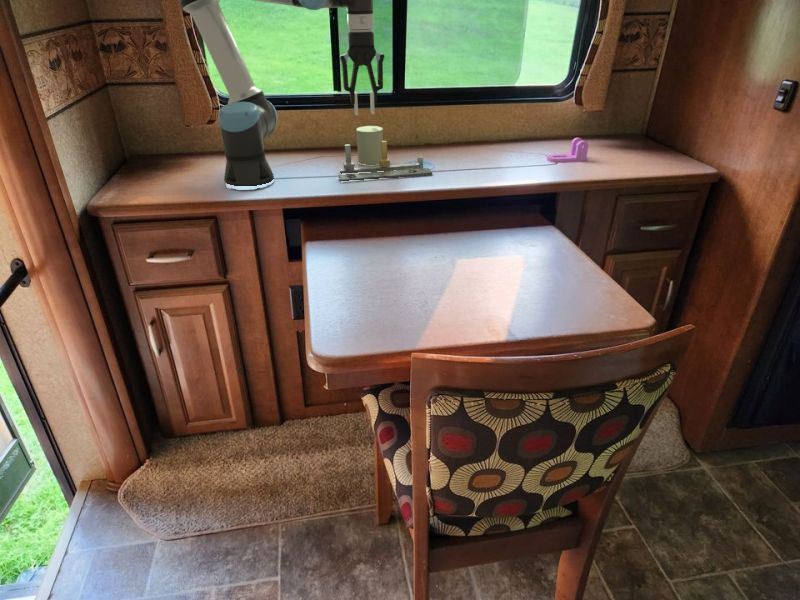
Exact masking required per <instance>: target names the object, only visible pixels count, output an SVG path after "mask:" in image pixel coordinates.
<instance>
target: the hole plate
mask: <svg viewBox="0 0 800 600" xmlns="http://www.w3.org/2000/svg"><path fill="white" fill-rule="evenodd" d="M415 176H416V177H427V176H433V171H432V170H431V169H430V168H429V167H423V168H421V169H409V170H396V171H384V172H371V173H359V174H346V175H340V174H338V179H339V178H340V180H341V181H349V180H364V179H379V178H393V179H400V178H399V177H405V178H415ZM340 180H339V181H340Z"/></svg>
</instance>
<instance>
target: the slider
mask: <svg viewBox="0 0 800 600" xmlns="http://www.w3.org/2000/svg"><path fill="white" fill-rule="evenodd" d="M381 155H382V159H379V165H378V166H381V167H390V165H391V161H390V159H389V158H388V142H387V140H383V141H381Z"/></svg>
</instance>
